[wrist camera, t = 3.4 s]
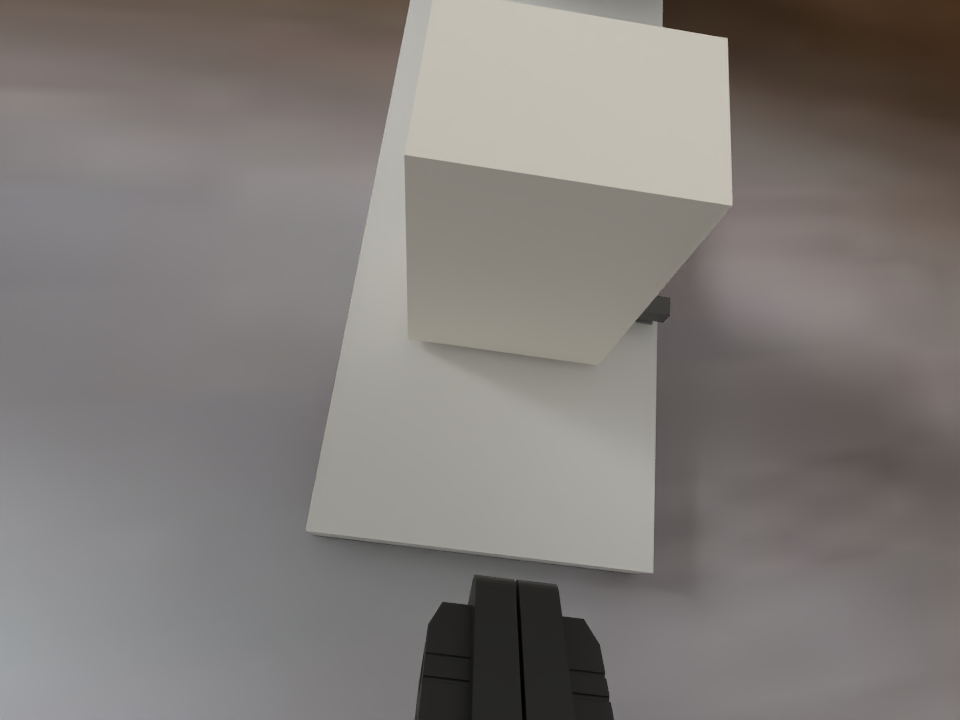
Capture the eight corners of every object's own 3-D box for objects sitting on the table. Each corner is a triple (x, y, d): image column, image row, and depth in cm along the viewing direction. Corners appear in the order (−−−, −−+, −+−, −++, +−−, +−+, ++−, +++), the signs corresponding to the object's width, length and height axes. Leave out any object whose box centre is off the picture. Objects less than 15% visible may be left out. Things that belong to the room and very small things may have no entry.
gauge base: (313, 534, 19) (185, 470, 8) (436, -103, 29) (450, -514, 18) (636, 573, 20) (903, 560, 9) (652, -64, 29) (791, -441, 19)
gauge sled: (408, 338, 20) (404, 154, 11) (431, 196, 22) (442, -56, 13) (659, 373, 20) (837, 222, 12) (662, 231, 22) (818, 10, 13)
